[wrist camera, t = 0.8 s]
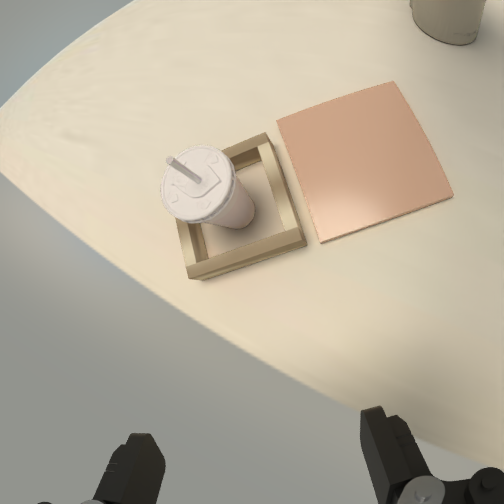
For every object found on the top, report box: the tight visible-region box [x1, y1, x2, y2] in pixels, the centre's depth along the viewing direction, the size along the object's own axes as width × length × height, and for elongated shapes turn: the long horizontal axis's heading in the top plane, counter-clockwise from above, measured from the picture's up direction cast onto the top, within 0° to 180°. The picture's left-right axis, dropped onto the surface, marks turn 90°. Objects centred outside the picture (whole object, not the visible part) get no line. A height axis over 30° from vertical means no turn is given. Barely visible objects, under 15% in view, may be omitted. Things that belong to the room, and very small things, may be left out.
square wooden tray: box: [175, 132, 307, 281], centre depth 32 cm, size 11×11×3 cm
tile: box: [276, 81, 454, 243], centre depth 30 cm, size 14×14×1 cm
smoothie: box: [161, 145, 255, 229], centre depth 27 cm, size 6×6×14 cm
